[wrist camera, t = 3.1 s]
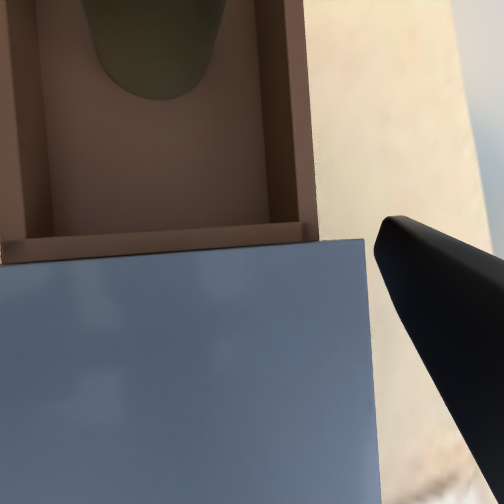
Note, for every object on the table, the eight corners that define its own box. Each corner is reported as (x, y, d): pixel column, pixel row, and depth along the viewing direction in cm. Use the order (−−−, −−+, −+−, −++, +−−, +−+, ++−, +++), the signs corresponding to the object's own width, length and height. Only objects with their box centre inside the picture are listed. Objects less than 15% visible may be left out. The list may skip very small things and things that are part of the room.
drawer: (-12, -172, 18) (-81, -348, 12) (267, -132, 20) (305, -261, 15) (25, 261, 18) (-26, 267, 13) (293, 241, 21) (339, 239, 16)
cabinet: (17, 262, 19) (-63, 270, 12) (298, 241, 22) (364, 238, 15) (46, 595, 19) (-15, 791, 12) (318, 528, 22) (391, 654, 15)
